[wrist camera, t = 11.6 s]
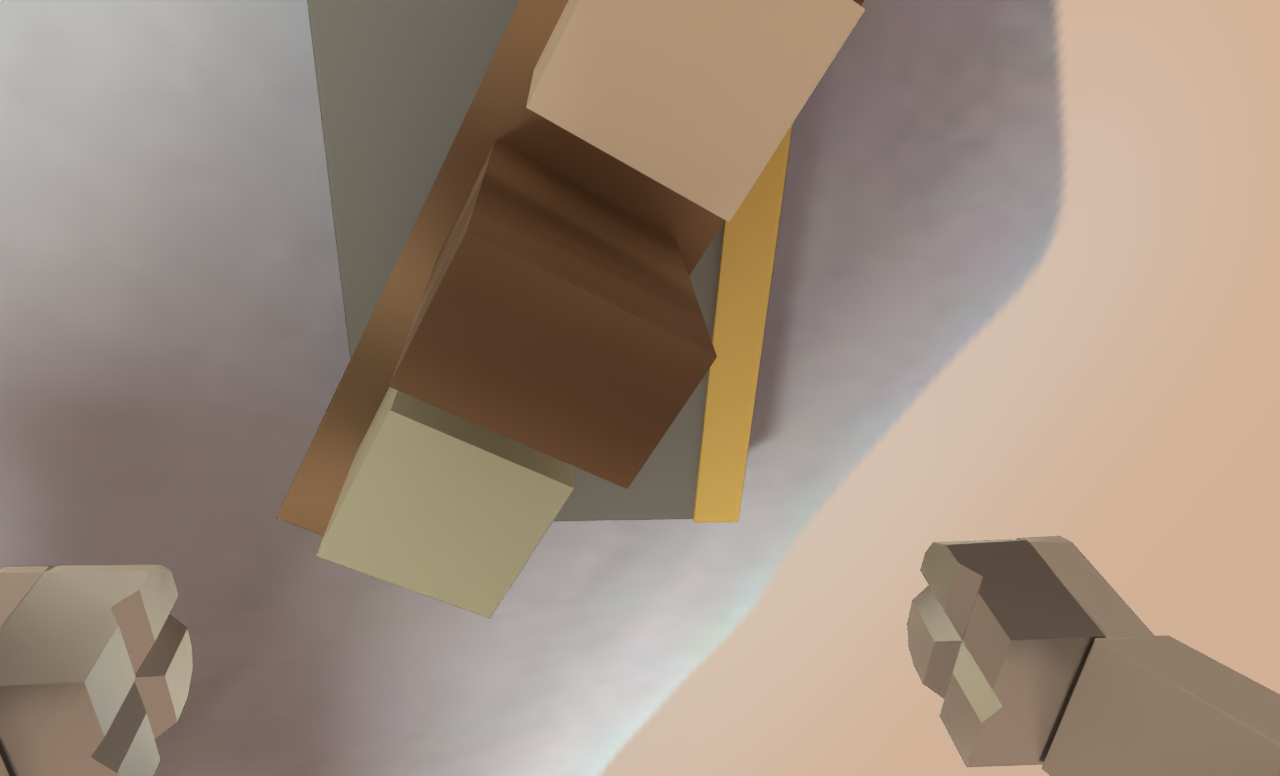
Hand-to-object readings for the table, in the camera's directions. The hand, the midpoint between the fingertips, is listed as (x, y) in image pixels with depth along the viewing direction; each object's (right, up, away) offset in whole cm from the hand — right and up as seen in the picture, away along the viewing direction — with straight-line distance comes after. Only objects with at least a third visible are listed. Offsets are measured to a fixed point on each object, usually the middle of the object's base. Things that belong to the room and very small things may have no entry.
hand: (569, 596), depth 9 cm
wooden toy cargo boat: (-1, +7, +13) cm, 15 cm away
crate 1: (-4, +1, +12) cm, 13 cm away
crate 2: (+1, +9, +8) cm, 12 cm away
